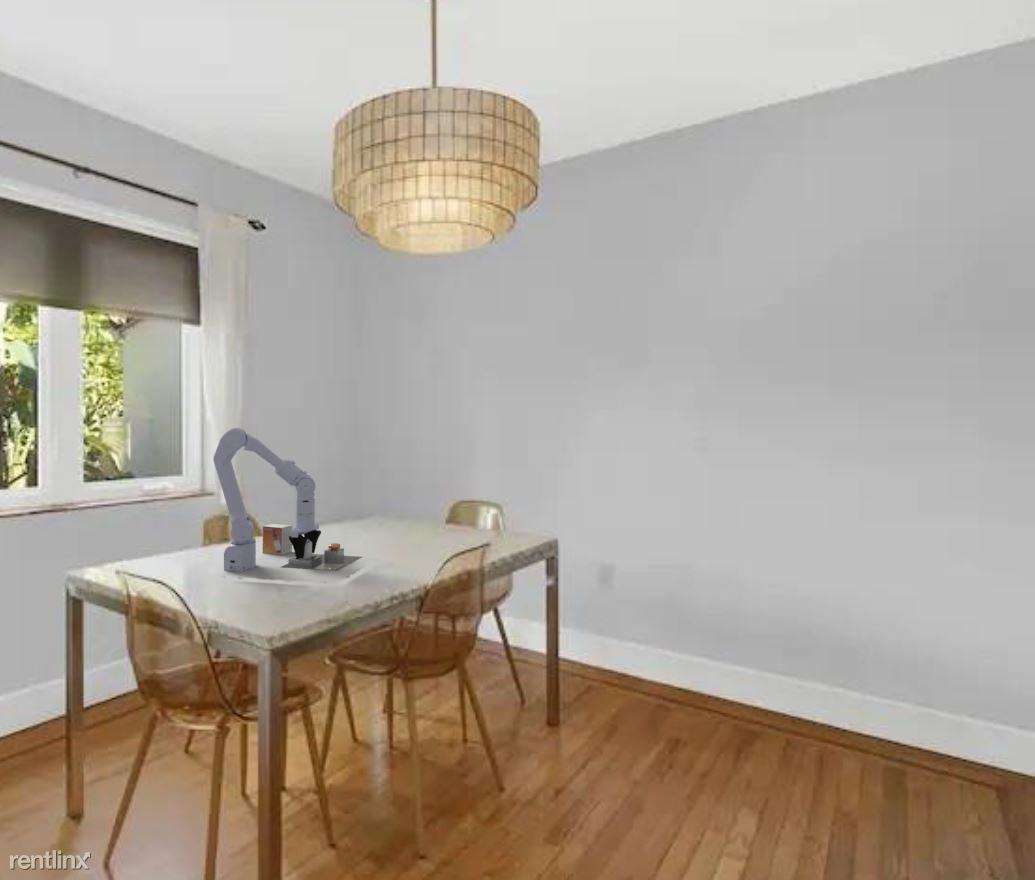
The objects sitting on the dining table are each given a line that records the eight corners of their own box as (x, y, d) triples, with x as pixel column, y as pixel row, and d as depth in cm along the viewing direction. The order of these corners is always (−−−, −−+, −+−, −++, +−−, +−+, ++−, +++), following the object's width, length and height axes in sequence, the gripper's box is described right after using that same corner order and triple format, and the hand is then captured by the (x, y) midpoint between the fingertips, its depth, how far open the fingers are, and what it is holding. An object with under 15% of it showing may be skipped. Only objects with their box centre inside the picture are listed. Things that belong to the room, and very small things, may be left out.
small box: (262, 556, 218) (262, 525, 218) (273, 553, 224) (273, 523, 223) (281, 558, 216) (281, 527, 215) (292, 555, 221) (292, 524, 221)
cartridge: (308, 564, 204) (308, 541, 204) (296, 563, 205) (296, 541, 204) (314, 561, 208) (314, 539, 208) (302, 560, 209) (302, 538, 208)
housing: (337, 574, 197) (337, 560, 196) (280, 571, 200) (280, 557, 200) (362, 560, 215) (362, 547, 215) (309, 557, 218) (309, 544, 218)
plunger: (337, 558, 209) (337, 546, 209) (326, 558, 210) (326, 545, 209) (342, 556, 213) (342, 543, 212) (331, 555, 213) (331, 543, 213)
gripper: (305, 517, 198) (306, 561, 198) (327, 510, 212) (327, 551, 213) (284, 516, 199) (284, 560, 200) (307, 509, 213) (307, 550, 214)
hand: (305, 555), depth 206 cm, fingers open, 7 cm apart
